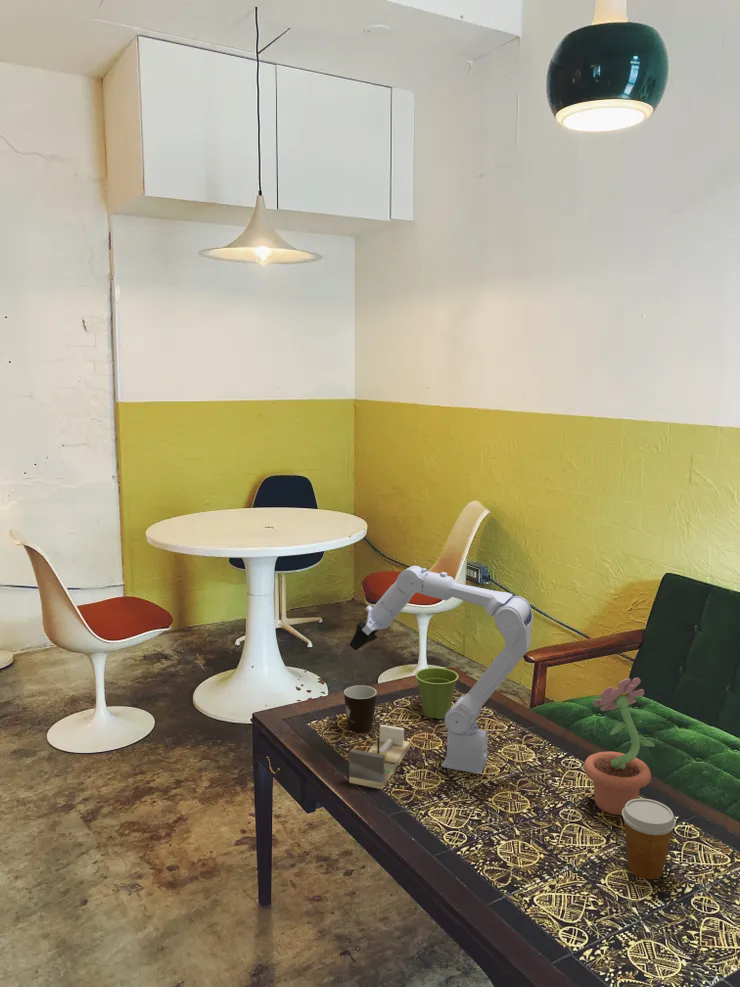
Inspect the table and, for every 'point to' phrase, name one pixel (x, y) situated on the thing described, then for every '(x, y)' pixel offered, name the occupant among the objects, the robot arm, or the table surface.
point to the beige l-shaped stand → (375, 765)
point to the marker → (380, 751)
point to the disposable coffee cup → (647, 836)
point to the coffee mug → (360, 708)
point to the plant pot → (436, 690)
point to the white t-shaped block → (391, 736)
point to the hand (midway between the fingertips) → (358, 641)
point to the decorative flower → (618, 755)
